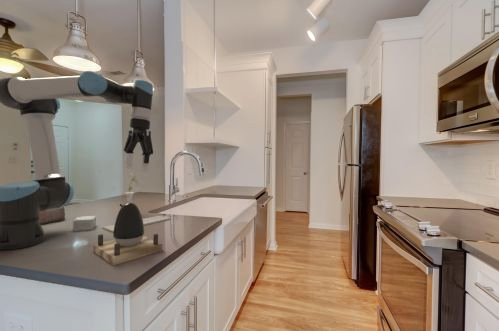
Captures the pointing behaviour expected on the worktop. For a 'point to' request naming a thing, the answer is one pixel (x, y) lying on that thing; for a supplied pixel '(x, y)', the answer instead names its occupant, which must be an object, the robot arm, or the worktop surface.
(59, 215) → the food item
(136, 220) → the dark grey bell shape
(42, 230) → the robot arm
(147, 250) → the oak stand
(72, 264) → the worktop surface
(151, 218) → the baseboard
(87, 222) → the small box
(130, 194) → the flower in vase
